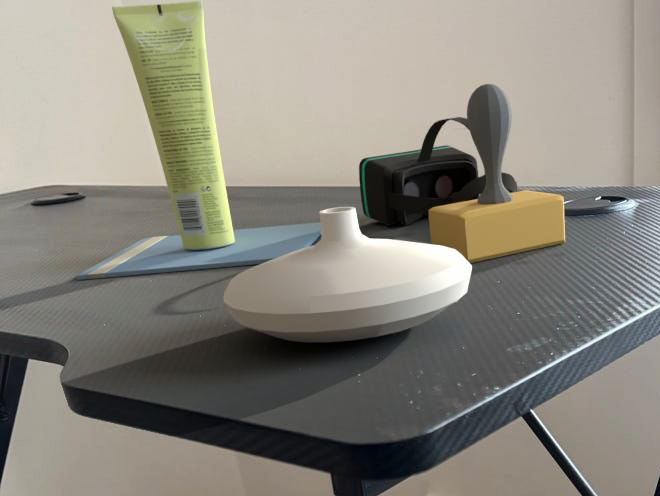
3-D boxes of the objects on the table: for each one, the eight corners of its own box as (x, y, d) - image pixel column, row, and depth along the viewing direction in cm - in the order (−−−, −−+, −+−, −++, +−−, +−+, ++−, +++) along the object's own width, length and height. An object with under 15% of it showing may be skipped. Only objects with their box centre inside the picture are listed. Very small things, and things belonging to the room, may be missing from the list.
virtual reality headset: (455, 202, 100) (451, 95, 93) (544, 239, 89) (546, 121, 82) (362, 219, 95) (352, 108, 89) (443, 260, 84) (438, 137, 78)
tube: (217, 239, 93) (164, 4, 82) (251, 240, 90) (201, -2, 80) (172, 251, 89) (111, 6, 79) (207, 253, 87) (148, 0, 76)
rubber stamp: (465, 265, 74) (449, 90, 67) (431, 256, 78) (413, 91, 71) (567, 243, 77) (562, 76, 71) (529, 235, 82) (521, 77, 75)
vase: (196, 336, 62) (168, 222, 58) (396, 287, 69) (382, 182, 65) (301, 384, 51) (274, 247, 47) (526, 319, 58) (519, 196, 54)
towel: (77, 280, 83) (76, 275, 83) (144, 242, 98) (143, 237, 98) (296, 260, 82) (295, 255, 81) (330, 225, 97) (329, 220, 96)
